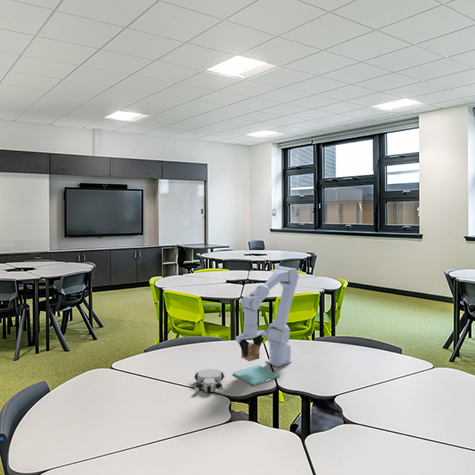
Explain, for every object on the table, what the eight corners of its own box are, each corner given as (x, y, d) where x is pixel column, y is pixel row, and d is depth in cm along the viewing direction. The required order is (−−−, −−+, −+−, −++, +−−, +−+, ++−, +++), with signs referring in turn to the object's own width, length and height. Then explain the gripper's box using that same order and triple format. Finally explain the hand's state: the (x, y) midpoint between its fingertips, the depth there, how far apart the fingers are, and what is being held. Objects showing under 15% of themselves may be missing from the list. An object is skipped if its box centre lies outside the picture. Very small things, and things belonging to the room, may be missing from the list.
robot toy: (225, 396, 160) (224, 377, 175) (224, 385, 160) (224, 367, 174) (193, 397, 160) (195, 377, 175) (192, 386, 159) (194, 367, 174)
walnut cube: (251, 354, 182) (251, 342, 182) (259, 358, 178) (259, 345, 177) (241, 357, 179) (241, 345, 178) (249, 361, 175) (249, 348, 174)
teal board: (257, 366, 186) (257, 364, 186) (279, 376, 175) (279, 375, 175) (232, 374, 178) (232, 372, 178) (253, 386, 167) (253, 384, 167)
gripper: (258, 318, 184) (258, 348, 185) (231, 324, 176) (231, 355, 177) (268, 322, 179) (268, 353, 180) (241, 328, 170) (241, 360, 171)
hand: (250, 354), depth 178 cm, fingers closed on walnut cube, 5 cm apart
